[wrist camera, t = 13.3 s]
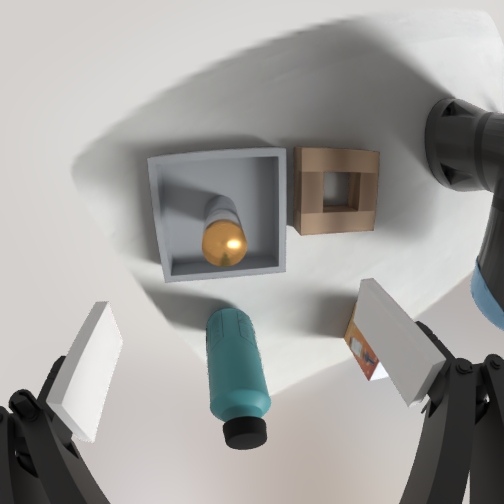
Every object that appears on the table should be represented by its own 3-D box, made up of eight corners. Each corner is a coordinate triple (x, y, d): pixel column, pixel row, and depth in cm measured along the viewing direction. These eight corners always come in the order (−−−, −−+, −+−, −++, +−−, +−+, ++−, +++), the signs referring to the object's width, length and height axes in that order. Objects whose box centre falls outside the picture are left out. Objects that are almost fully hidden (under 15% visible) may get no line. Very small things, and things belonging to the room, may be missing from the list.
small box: (355, 300, 41) (387, 342, 31) (382, 298, 42) (417, 336, 32) (342, 339, 44) (368, 382, 34) (369, 335, 45) (396, 375, 35)
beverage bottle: (198, 307, 37) (197, 436, 19) (244, 294, 37) (273, 421, 19) (215, 340, 40) (224, 460, 22) (257, 328, 40) (287, 447, 22)
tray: (277, 147, 30) (286, 148, 26) (277, 257, 36) (285, 272, 32) (155, 155, 28) (147, 158, 25) (169, 267, 34) (165, 282, 31)
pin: (235, 194, 31) (246, 222, 21) (237, 224, 32) (248, 264, 23) (203, 197, 30) (199, 226, 21) (206, 227, 32) (204, 268, 22)
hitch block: (367, 150, 31) (379, 152, 29) (362, 223, 35) (373, 230, 33) (293, 146, 30) (301, 148, 28) (293, 227, 34) (300, 235, 32)
